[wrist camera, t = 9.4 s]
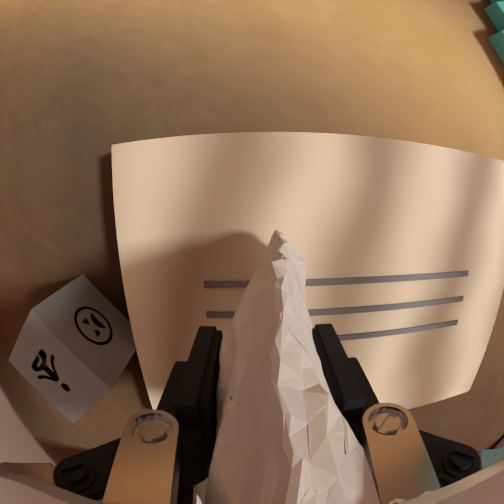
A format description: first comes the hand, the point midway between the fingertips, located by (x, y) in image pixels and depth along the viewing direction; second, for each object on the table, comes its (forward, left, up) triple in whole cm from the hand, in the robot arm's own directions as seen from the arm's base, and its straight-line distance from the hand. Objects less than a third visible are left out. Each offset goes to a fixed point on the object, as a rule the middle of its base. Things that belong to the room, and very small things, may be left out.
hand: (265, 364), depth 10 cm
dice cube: (+10, +2, -6) cm, 12 cm away
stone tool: (0, 0, -4) cm, 4 cm away
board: (-4, 0, -5) cm, 7 cm away
